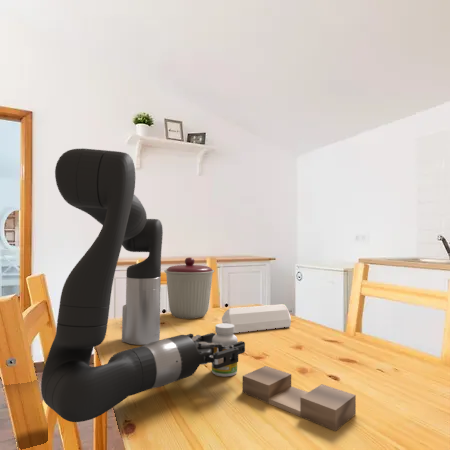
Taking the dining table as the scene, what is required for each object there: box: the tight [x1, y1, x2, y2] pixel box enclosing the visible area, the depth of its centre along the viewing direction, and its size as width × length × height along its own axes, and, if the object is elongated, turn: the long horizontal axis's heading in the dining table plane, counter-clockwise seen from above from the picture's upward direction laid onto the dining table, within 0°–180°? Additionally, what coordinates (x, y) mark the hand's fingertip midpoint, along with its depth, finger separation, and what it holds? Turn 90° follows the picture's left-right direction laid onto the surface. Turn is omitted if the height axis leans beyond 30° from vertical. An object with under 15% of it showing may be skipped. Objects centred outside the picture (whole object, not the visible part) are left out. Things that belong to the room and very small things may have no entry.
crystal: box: [221, 303, 292, 334], centre depth 109 cm, size 7×7×24 cm
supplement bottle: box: [211, 323, 239, 378], centre depth 73 cm, size 5×5×10 cm
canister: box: [164, 257, 215, 320], centre depth 125 cm, size 18×18×21 cm
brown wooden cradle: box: [241, 365, 357, 432], centre depth 59 cm, size 7×18×3 cm, turn 46°
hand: (228, 341), depth 74 cm, fingers open, 8 cm apart
